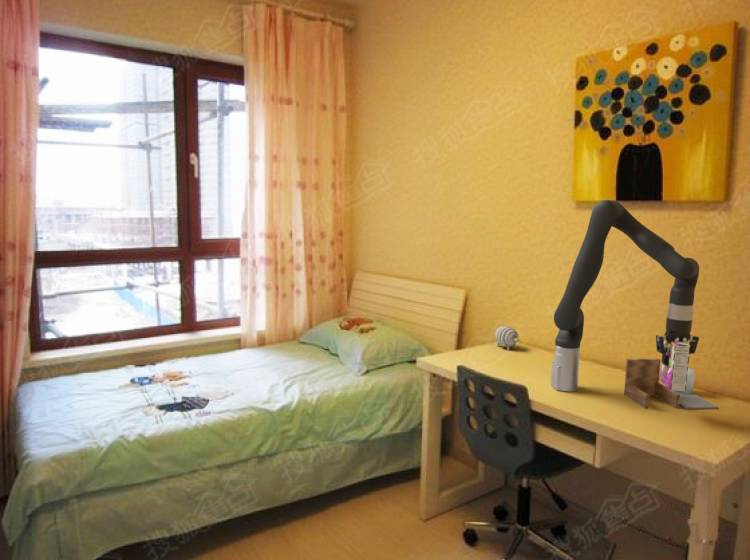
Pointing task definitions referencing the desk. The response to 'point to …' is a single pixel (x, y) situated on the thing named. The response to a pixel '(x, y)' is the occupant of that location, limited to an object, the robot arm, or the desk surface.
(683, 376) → the candy bar box
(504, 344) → the toy sheep
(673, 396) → the walnut bay
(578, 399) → the desk surface
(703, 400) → the rubber pad
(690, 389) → the white rounded cylinder
